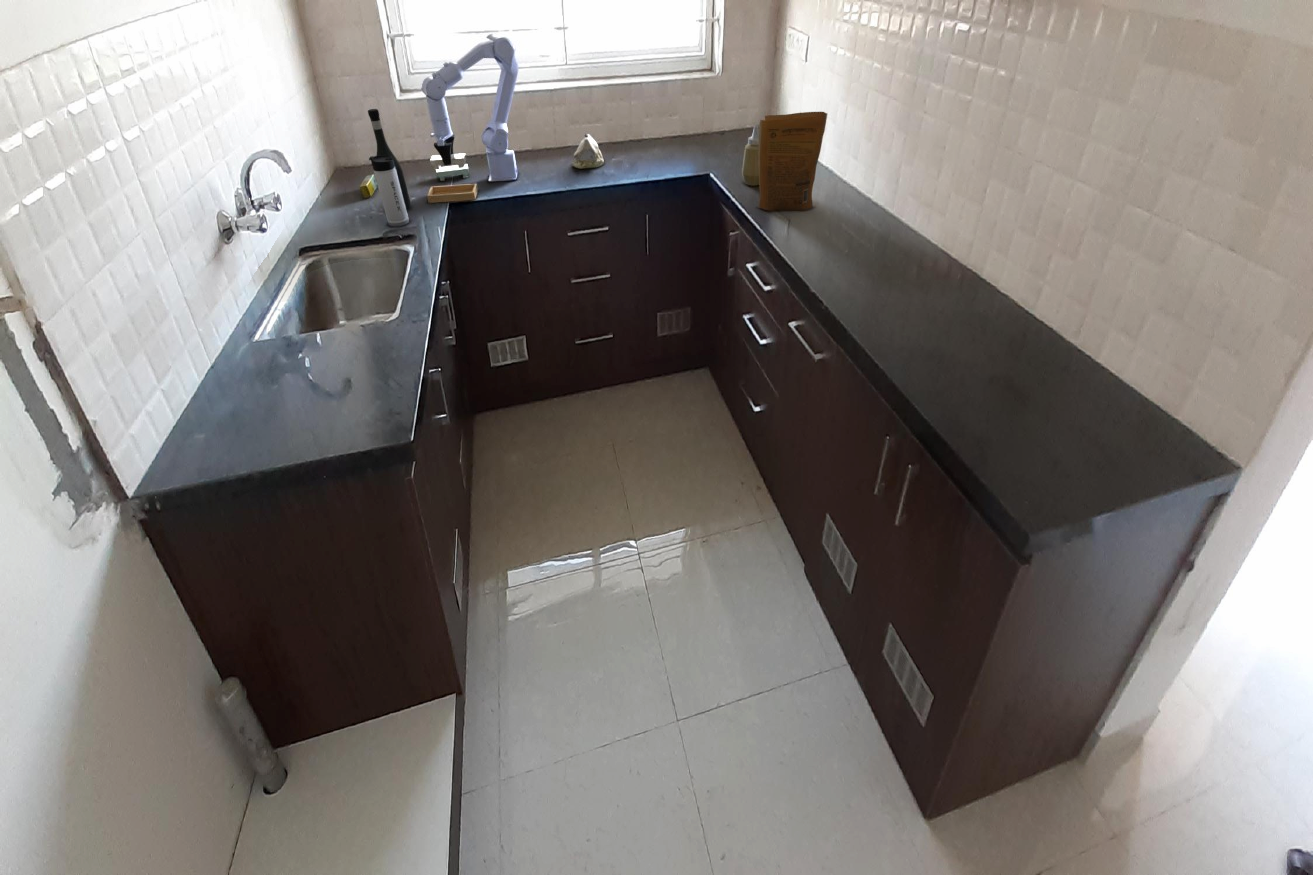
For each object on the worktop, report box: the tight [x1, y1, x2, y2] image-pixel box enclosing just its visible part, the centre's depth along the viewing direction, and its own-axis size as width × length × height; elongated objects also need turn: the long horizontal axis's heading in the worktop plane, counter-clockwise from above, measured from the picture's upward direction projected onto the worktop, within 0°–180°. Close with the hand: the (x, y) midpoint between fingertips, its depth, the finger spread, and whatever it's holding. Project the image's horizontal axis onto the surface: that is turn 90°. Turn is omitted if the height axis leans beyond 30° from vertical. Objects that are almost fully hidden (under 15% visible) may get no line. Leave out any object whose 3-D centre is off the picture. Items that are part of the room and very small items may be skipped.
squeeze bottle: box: [741, 125, 759, 187], centre depth 231 cm, size 8×8×18 cm
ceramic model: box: [572, 133, 605, 169], centre depth 256 cm, size 14×11×10 cm
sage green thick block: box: [435, 163, 470, 182], centre depth 251 cm, size 11×5×3 cm, turn 105°
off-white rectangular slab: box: [429, 152, 467, 171], centre depth 238 cm, size 11×5×3 cm, turn 95°
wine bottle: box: [367, 108, 412, 211], centre depth 220 cm, size 8×8×30 cm
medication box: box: [359, 173, 378, 199], centre depth 242 cm, size 12×3×4 cm, turn 7°
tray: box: [426, 183, 479, 204], centre depth 236 cm, size 15×9×2 cm, turn 95°
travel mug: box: [368, 155, 410, 228], centre depth 214 cm, size 6×7×20 cm
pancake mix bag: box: [758, 111, 828, 212], centre depth 209 cm, size 7×19×28 cm, turn 86°
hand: (449, 162), depth 238 cm, fingers closed on off-white rectangular slab, 5 cm apart
